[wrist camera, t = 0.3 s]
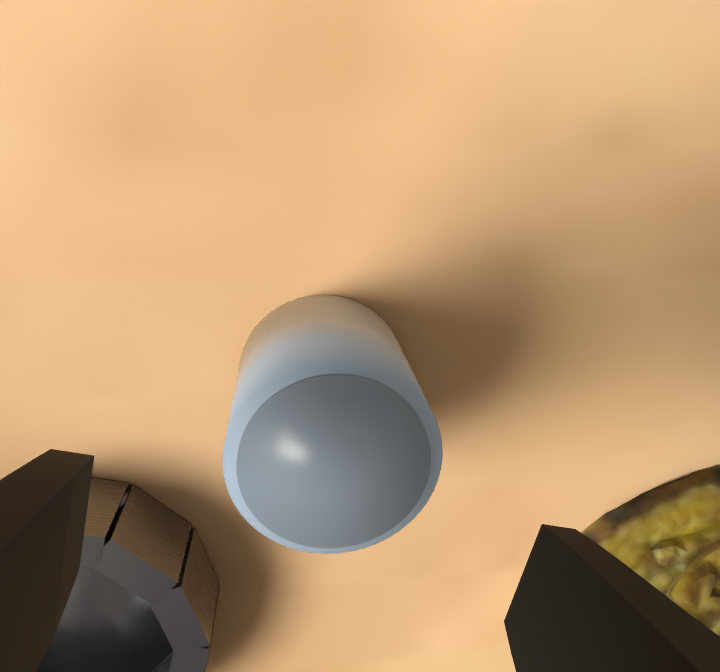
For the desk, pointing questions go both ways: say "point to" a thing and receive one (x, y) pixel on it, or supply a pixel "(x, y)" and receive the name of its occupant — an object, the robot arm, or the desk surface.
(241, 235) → the desk surface
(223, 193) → the desk surface
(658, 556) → the olive stemmed piece
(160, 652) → the dark grey ring
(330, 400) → the cap
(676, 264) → the desk surface
